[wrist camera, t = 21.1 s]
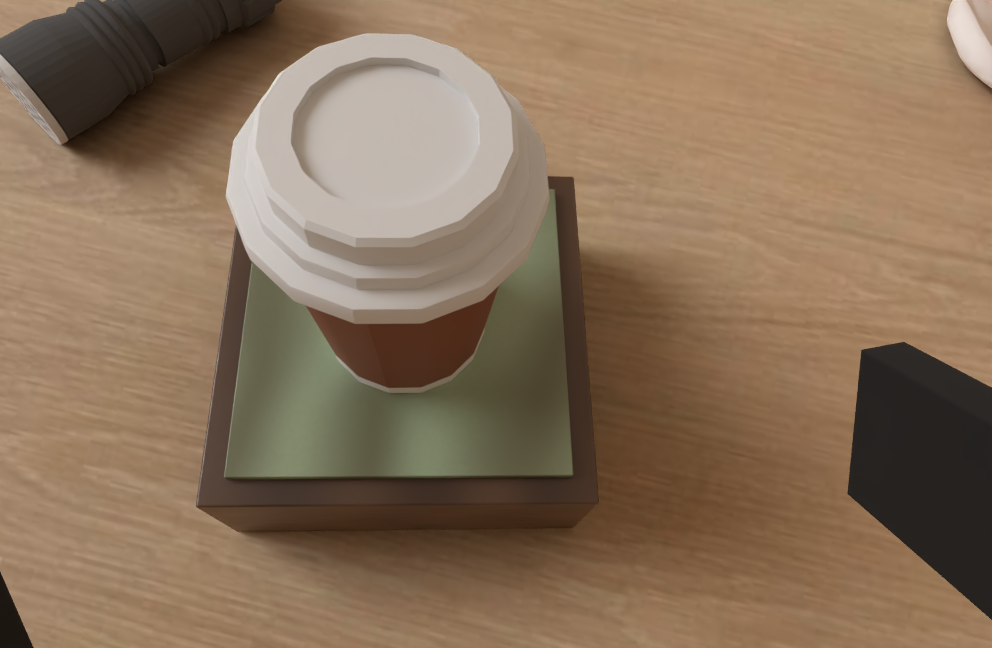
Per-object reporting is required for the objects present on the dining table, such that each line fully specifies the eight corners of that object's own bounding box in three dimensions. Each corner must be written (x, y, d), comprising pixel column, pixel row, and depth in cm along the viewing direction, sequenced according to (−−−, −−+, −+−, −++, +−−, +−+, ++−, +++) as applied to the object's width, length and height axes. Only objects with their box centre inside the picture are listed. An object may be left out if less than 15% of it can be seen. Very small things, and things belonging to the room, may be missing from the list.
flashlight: (242, -27, 46) (219, -109, 41) (299, 20, 45) (282, -58, 40) (18, 104, 41) (-39, 28, 36) (75, 163, 39) (24, 93, 35)
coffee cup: (436, 190, 33) (434, -43, 22) (561, 346, 30) (630, 170, 19) (251, 292, 30) (143, 86, 19) (370, 474, 27) (323, 354, 16)
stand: (236, 532, 32) (191, 505, 27) (271, 237, 38) (241, 163, 33) (573, 527, 33) (601, 501, 28) (555, 242, 40) (575, 170, 34)
